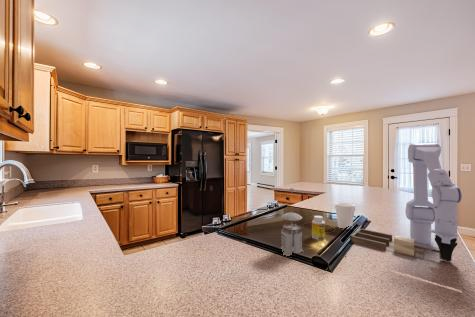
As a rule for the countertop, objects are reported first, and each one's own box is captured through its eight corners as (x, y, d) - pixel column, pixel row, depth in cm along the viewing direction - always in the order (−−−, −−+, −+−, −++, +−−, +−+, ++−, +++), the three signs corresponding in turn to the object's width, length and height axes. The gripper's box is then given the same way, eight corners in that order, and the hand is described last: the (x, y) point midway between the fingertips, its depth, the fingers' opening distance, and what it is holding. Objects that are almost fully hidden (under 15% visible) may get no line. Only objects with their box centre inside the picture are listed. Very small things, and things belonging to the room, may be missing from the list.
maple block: (395, 247, 87) (395, 235, 87) (451, 260, 76) (451, 246, 76) (393, 251, 84) (394, 238, 84) (451, 265, 73) (451, 250, 73)
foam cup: (331, 227, 115) (331, 203, 115) (343, 225, 119) (343, 202, 119) (346, 233, 106) (346, 206, 106) (359, 230, 110) (359, 205, 110)
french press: (301, 247, 88) (302, 186, 88) (308, 260, 77) (308, 190, 77) (277, 246, 89) (278, 186, 89) (280, 259, 78) (281, 190, 78)
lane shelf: (359, 234, 104) (359, 228, 104) (425, 249, 88) (425, 241, 88) (350, 243, 93) (350, 235, 93) (422, 261, 77) (422, 252, 77)
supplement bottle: (319, 242, 94) (319, 218, 94) (309, 238, 99) (309, 216, 99) (327, 239, 97) (327, 217, 97) (316, 235, 102) (317, 214, 102)
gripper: (431, 214, 84) (431, 249, 83) (429, 221, 73) (429, 261, 73) (457, 217, 79) (457, 254, 79) (459, 226, 68) (459, 269, 68)
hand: (445, 258), depth 75 cm, fingers closed on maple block, 3 cm apart
